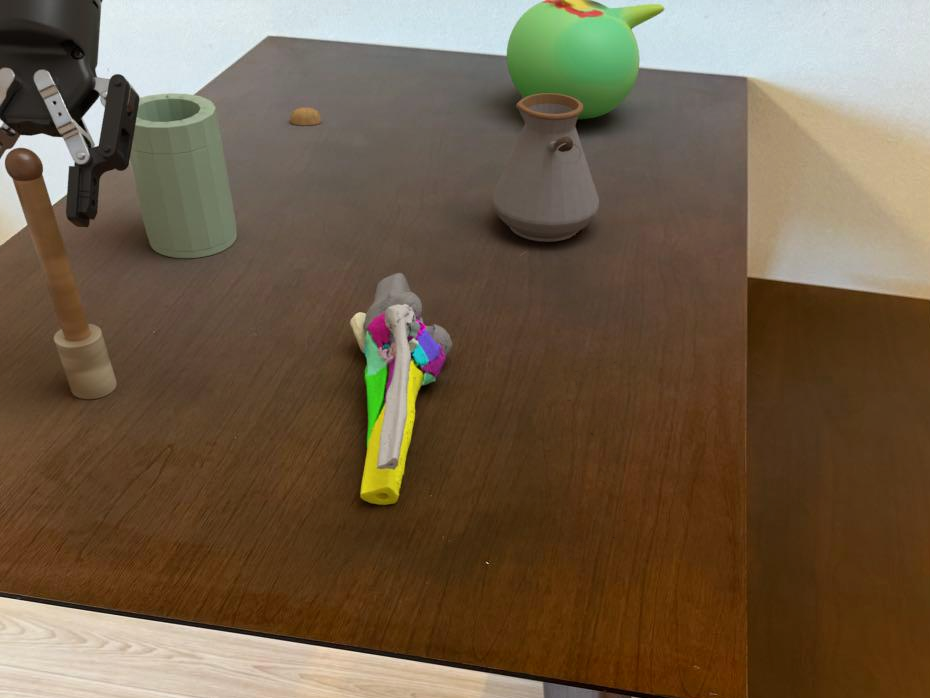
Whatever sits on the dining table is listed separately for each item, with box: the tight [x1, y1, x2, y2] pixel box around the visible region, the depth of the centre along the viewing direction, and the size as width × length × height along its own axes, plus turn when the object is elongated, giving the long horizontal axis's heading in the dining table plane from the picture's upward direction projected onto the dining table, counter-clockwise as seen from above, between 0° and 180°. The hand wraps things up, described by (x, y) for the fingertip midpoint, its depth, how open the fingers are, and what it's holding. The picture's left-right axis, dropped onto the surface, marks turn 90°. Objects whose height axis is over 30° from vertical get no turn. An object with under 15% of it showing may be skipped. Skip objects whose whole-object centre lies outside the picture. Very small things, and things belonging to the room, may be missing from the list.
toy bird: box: [506, 0, 666, 120], centre depth 125 cm, size 18×17×15 cm
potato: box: [290, 106, 322, 126], centre depth 124 cm, size 3×4×2 cm, turn 99°
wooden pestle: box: [4, 147, 118, 400], centre depth 74 cm, size 4×4×20 cm
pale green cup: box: [129, 92, 238, 259], centre depth 96 cm, size 9×9×13 cm
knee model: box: [349, 272, 453, 506], centre depth 78 cm, size 9×8×25 cm
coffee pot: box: [492, 93, 600, 243], centre depth 97 cm, size 21×12×15 cm, turn 4°
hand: (29, 220), depth 69 cm, fingers open, 6 cm apart
